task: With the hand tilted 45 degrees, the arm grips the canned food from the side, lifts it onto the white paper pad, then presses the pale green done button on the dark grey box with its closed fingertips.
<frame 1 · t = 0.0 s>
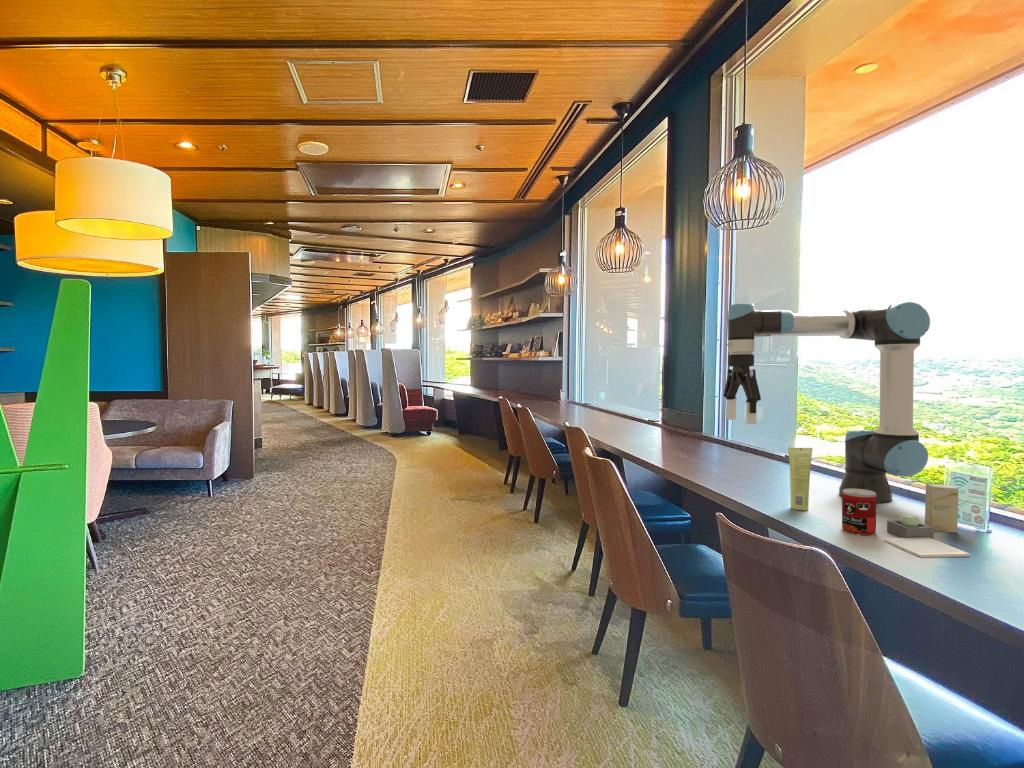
hand: (741, 421, 167), 28 cm above the table, tool pointing down, fingers open, 13 cm apart
paper pad: (924, 548, 132), on the table
done button: (909, 522, 142), point 3 cm above the table, slide at 0.0 cm
canned food: (858, 532, 146), on the table
button box: (909, 535, 142), on the table
skincare box: (940, 530, 146), on the table
tube: (800, 509, 169), on the table
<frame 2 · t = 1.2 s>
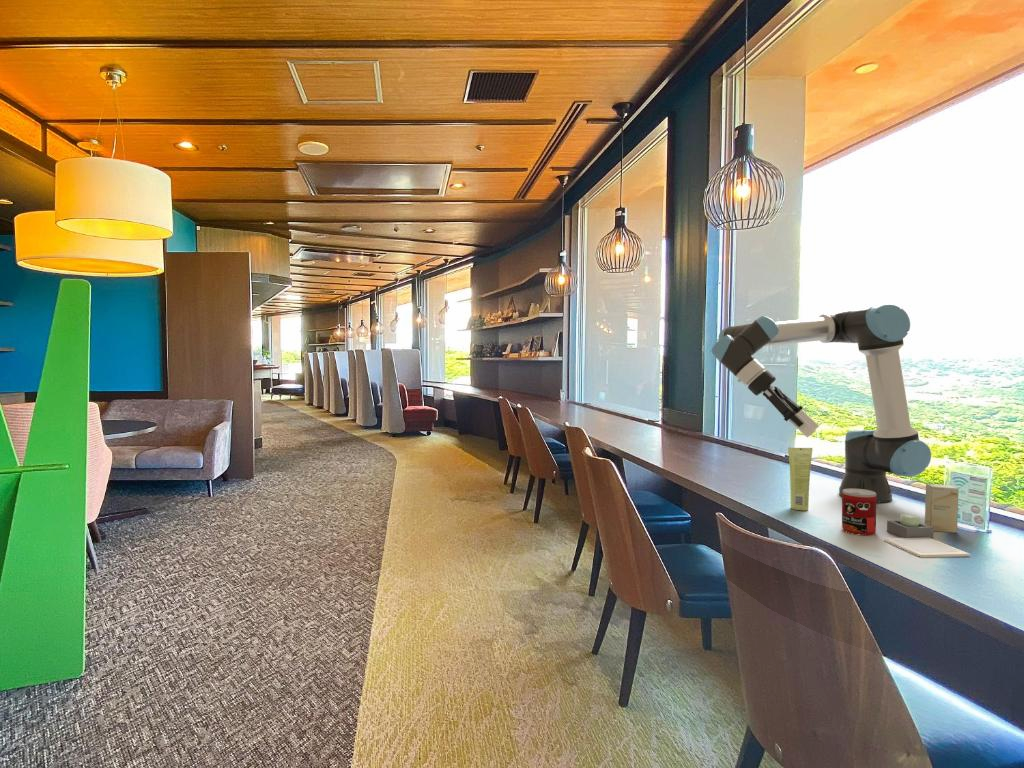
hand: (813, 431, 151), 27 cm above the table, tool tilted 45°, fingers open, 13 cm apart
nothing on the table moved.
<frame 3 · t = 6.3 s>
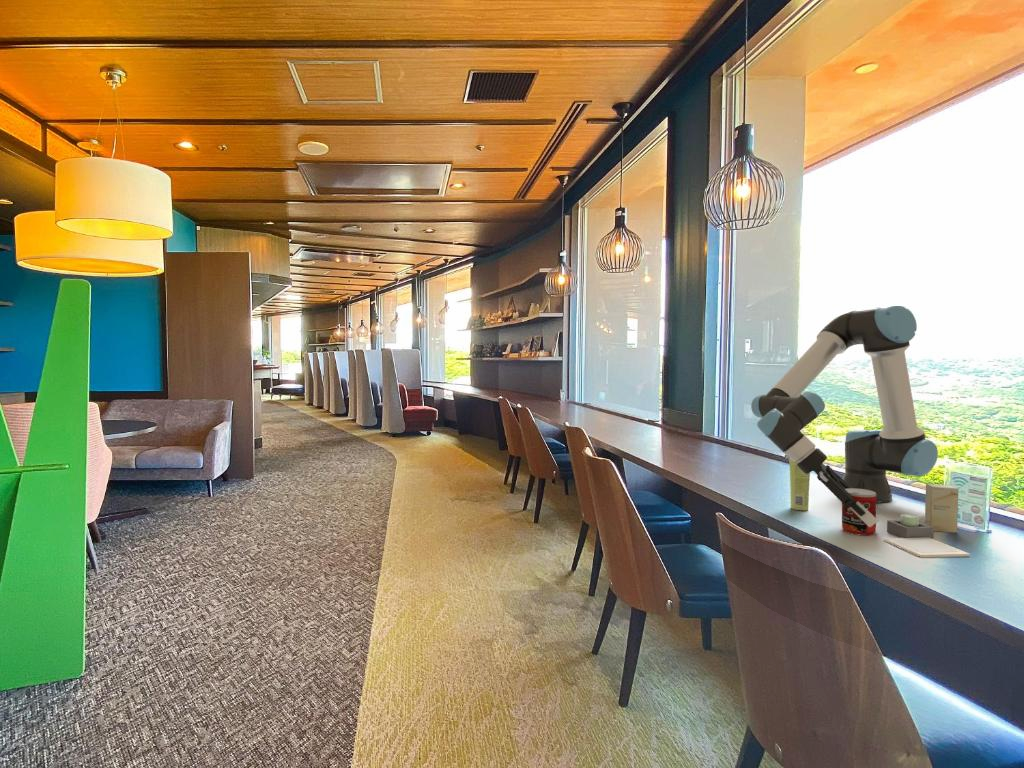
hand: (873, 519, 144), 4 cm above the table, tool tilted 45°, fingers closed on canned food, 8 cm apart
canned food: (858, 532, 146), on the table, touching gripper
everything else where it was.
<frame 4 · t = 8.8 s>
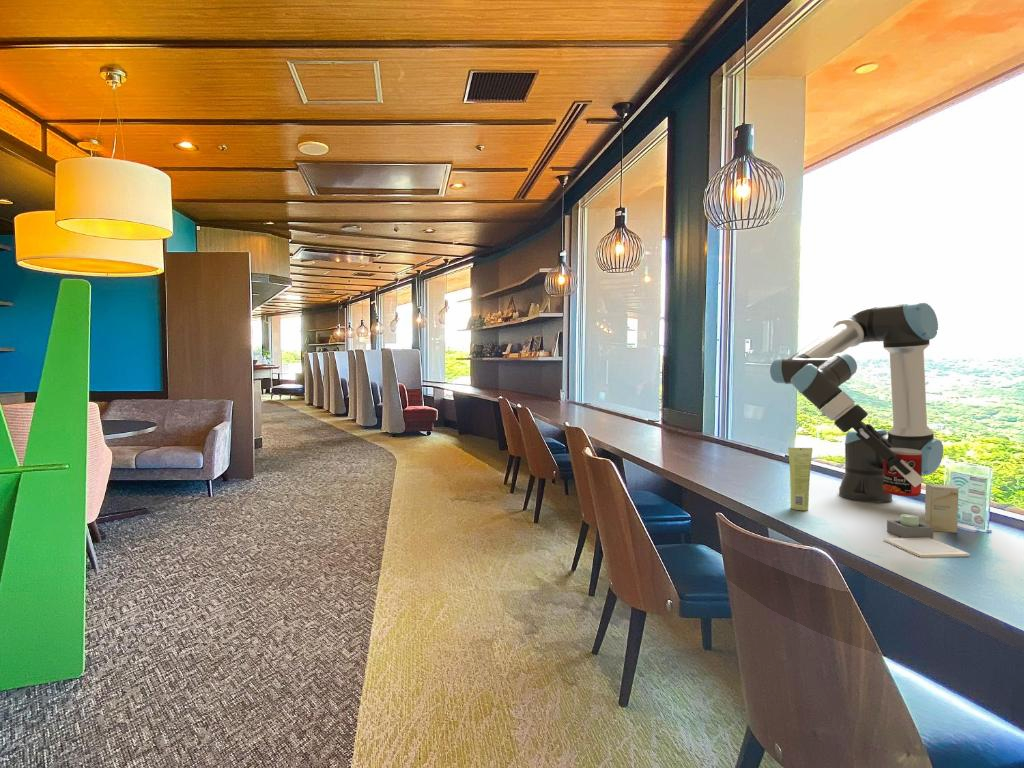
hand: (919, 480, 133), 17 cm above the table, tool tilted 45°, fingers closed on canned food, 8 cm apart
canned food: (901, 493, 135), point 13 cm above the table, touching gripper
everything else where it was.
when the fingers open (6 cm above the table, at t = 11.6 s): canned food drops 1 cm, resting on paper pad.
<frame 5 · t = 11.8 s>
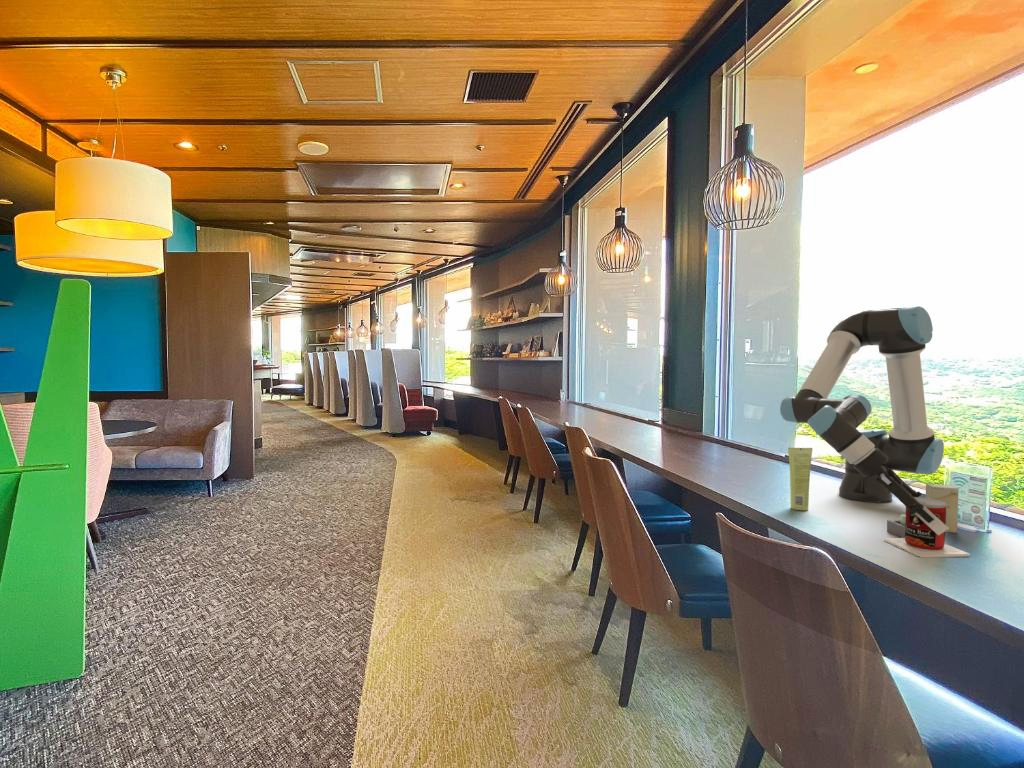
hand: (940, 525, 130), 6 cm above the table, tool tilted 45°, fingers open, 10 cm apart
canned food: (924, 545, 132), point 1 cm above the table, touching paper pad
everything else where it was.
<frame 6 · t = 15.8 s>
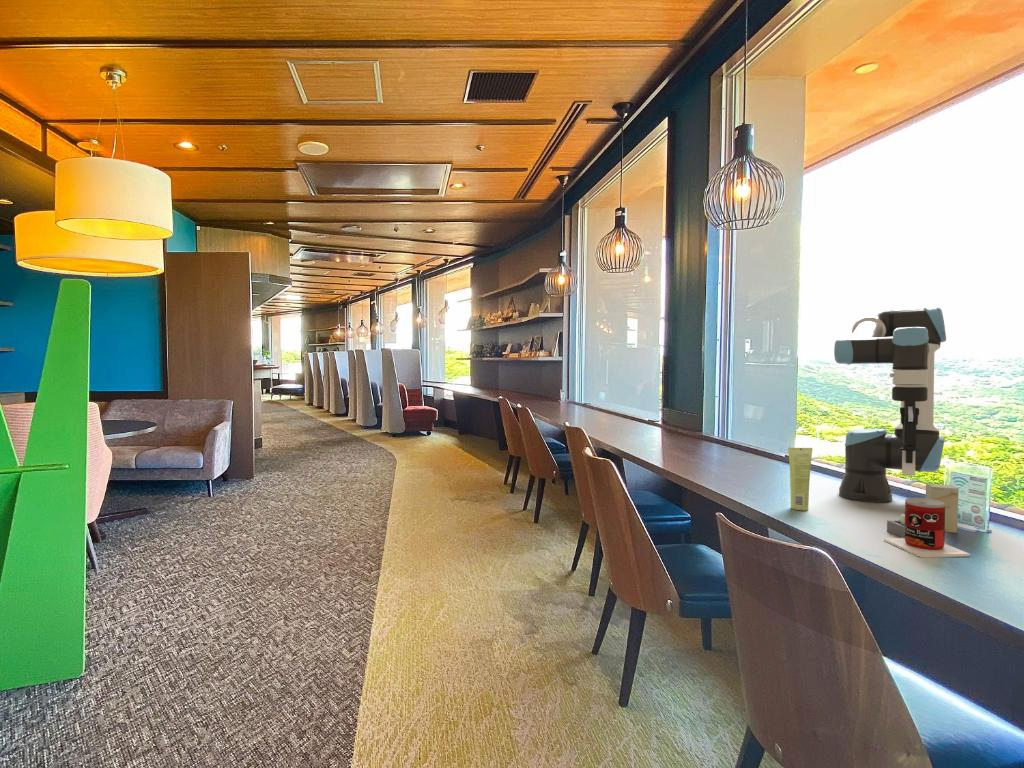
hand: (908, 474, 142), 16 cm above the table, tool pointing down, fingers closed
nothing on the table moved.
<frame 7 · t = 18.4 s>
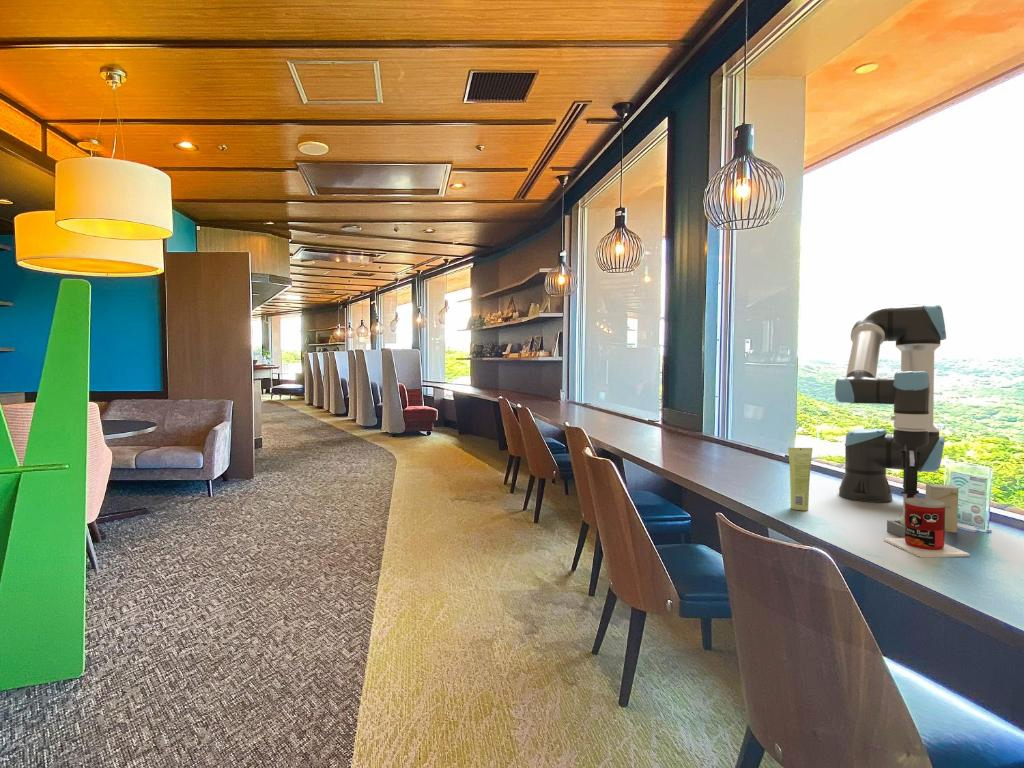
hand: (909, 517, 142), 5 cm above the table, tool pointing down, fingers closed
done button: (909, 524, 142), point 3 cm above the table, slide at 0.6 cm, touching gripper
everything else where it was.
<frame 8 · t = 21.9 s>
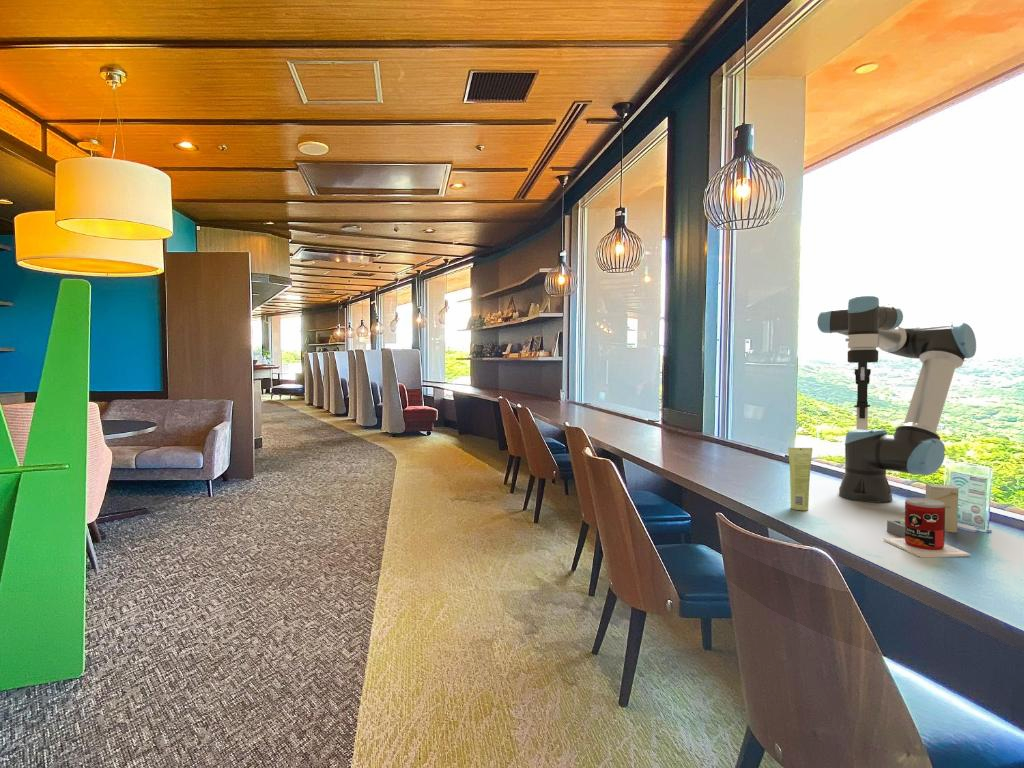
hand: (861, 429, 157), 26 cm above the table, tool pointing down, fingers closed
done button: (909, 526, 142), point 2 cm above the table, slide at 1.3 cm
everything else where it was.
at the end: canned food inside the target area on the paper pad (0.2 cm from its centre), point 0.5 cm above the paper pad's base; canned food tilted 0°; done button slide at 1.3 cm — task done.
